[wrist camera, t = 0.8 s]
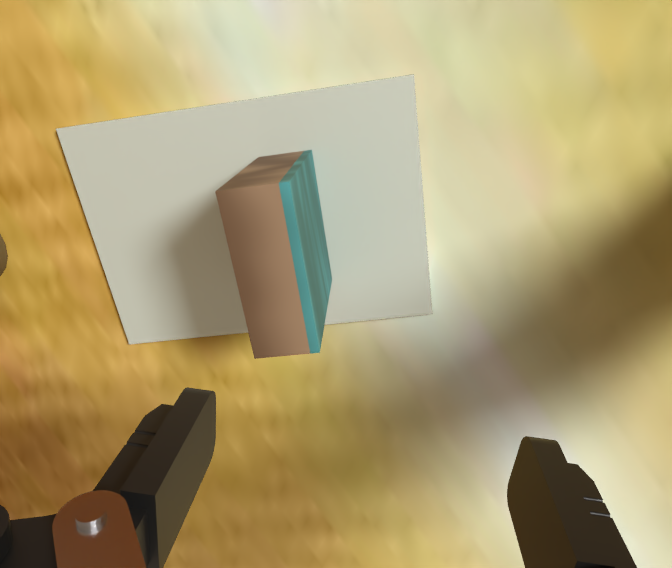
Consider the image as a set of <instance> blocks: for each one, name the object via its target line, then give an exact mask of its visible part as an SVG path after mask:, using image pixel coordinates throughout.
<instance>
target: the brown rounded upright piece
mask: <svg viewBox="0 0 672 568" xmlns="http://www.w3.org/2000/svg"><path fill="white" fill-rule="evenodd" d="M7 257H8V255H7V250H6V245H5V242H4V240H3V239H2V237H1V235H0V276H1V275H2V273H3V271H4V270H5V268H6V264H7Z"/></svg>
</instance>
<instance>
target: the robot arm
mask: <svg viewBox="0 0 672 568" xmlns="http://www.w3.org/2000/svg"><path fill="white" fill-rule="evenodd" d="M215 438H216V395H215V392H214V391H208V390H201V389H194V388H185V389H184V390H183V392H182V393H181V395H180V396H179V398H178V400H177V401H176V403H175V404H174V406H172V405H165V404H161V405H160V406H158V407H157V408H156V409H154V410H153V411H151V412H150V413H148V414H147V415H145V417H144V418H143V420H142V421H141V423H140V424H139V425H138V427H137V428H136V430H135V433H133V434H132V435H131V437H130V438H129V440H128V441H127V444H126V445H125V446H124V447H123V448H122V450H121V451H120V453H119V454H118V456H117V457H116V458H115V460H114V461H113V463H112V464H111V466H110V467H109V469H108V470H107V471H106V473H105V474H104V476H103V477H102V479H101V480H100V481H99V483H98V484H97V486H96V487H95V489H94V490H93V491H91V492H87V493H84V494H82V495H79V496H77V497H75V498H73V499H72V500H70V501H69V502H67V503H66V504H65V505H64V506H63V507H62V508H61V509H60V510H59V511H58V513H57V514H54V515H49V516H42V517H34V518H26V519H18V520H10V519H9V514H8V512H7V510H6V509H5V508H4V507H3V506H1V505H0V568H163V567H164V564H165V562H166V560H167V558H168V555H169V553H170V551H171V549H172V546H173V544H174V542H175V540H176V538H177V535H178V533H179V531H180V529H181V526H182V524H183V522H184V520H185V517H186V515H187V513H188V511H189V509H190V506H191V504H192V502H193V500H194V497H195V495H196V493H197V491H198V488H199V486H200V484H201V482H202V480H203V477H204V475H205V473H206V471H207V468H208V466H209V464H210V461H211V459H212V455H213V451H214V446H215ZM507 500H508V507H509V511H510V515H511V518H512V522H513V525H514V529H515V533H516V536H517V540H518V543H519V547H520V550H521V554H522V558H523V561H524V565H525V568H637V567H636V565H635V563H634V561H633V559H632V557H631V555H630V553H629V551H628V549H627V547H626V545H625V543H624V541H623V539H622V537H621V535H620V533H619V531H618V529H617V527H616V525H615V523H614V521H613V519H612V518H610V513H609V511H608V509H607V507H606V505H605V503H603V501H602V500H603V499H602V497H601V495H600V493H599V491H598V489H597V487H596V485H595V483H594V481H593V480H592V479H591V478H590V477H589V476H588V475H587V474H586V473H585V472H584V471H583V470H582V469H581V468H580V467H579V466H578V465H577V464H571V463H567V461H566V458H565V456H564V454H563V452H562V450H561V448H560V445H559V444H558V442H557V441H555V440H548V439H541V438H534V437H527V436H526V437H524V438H523V439H522V441H521V444H520V447H519V450H518V453H517V457H516V460H515V463H514V466H513V469H512V472H511V476H510V479H509V482H508V489H507Z"/></svg>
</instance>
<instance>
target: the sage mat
mask: <svg viewBox="0 0 672 568" xmlns="http://www.w3.org/2000/svg"><path fill="white" fill-rule="evenodd" d="M56 131H57V134H58V137H59V140H60V143H61V146H62V149H63V152H64V155H65V157H66V160H67V163H68V166H69V169H70V172H71V175H72V178H73V181H74V184H75V187H76V190H77V193H78V196H79V198H80V201H81V204H82V207H83V210H84V213H85V216H86V219H87V222H88V225H89V228H90V231H91V234H92V237H93V239H94V242H95V245H96V248H97V251H98V254H99V257H100V260H101V263H102V266H103V269H104V272H105V275H106V278H107V281H108V283H109V286H110V289H111V292H112V295H113V298H114V301H115V304H116V307H117V310H118V313H119V316H120V319H121V322H122V324H123V327H124V330H125V333H126V336H127V339H128V342H129V344H138V343H148V342H158V341H168V340H178V339H188V338H198V337H208V336H218V335H228V334H238V333H248V328H247V324H246V320H245V316H244V311H243V307H242V303H241V299H240V294H239V290H238V286H237V282H236V278H235V273H234V269H233V265H232V261H231V256H230V252H229V248H228V244H227V239H226V235H225V231H224V227H223V222H222V218H221V214H220V210H219V205H218V201H217V197H216V193H215V191H216V190H218V189H219V188H220V187H221V186H223V185H224V184H225V183H226V182H228V181H229V180H230V179H231V178H233V177H234V176H235V175H237V174H238V173H239V172H240V171H242V170H243V169H244V168H245V167H247V166H248V165H249V164H250V163H252V162H253V161H254V160H255V159H257V158H258V157H262V156H270V155H277V154H284V153H291V152H298V151H306V150H312V154H313V160H314V166H315V173H316V179H317V185H318V192H319V198H320V205H321V211H322V217H323V224H324V230H325V236H326V243H327V249H328V256H329V262H330V268H331V275H332V284H331V290H330V295H329V301H328V307H327V313H326V319H325V324H324V325H328V324H338V323H348V322H358V321H368V320H378V319H388V318H398V317H408V316H418V315H428V314H432V303H431V290H430V277H429V264H428V251H427V238H426V225H425V212H424V199H423V186H422V173H421V160H420V147H419V134H418V121H417V108H416V96H415V83H414V74H413V75H406V76H400V77H393V78H387V79H380V80H373V81H367V82H360V83H354V84H347V85H341V86H334V87H327V88H321V89H314V90H308V91H301V92H294V93H288V94H281V95H275V96H268V97H262V98H255V99H248V100H242V101H235V102H229V103H222V104H215V105H209V106H202V107H196V108H189V109H183V110H176V111H169V112H163V113H156V114H150V115H143V116H137V117H130V118H123V119H117V120H110V121H104V122H97V123H90V124H84V125H77V126H71V127H64V128H58V129H56Z"/></svg>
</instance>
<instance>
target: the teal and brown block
mask: <svg viewBox="0 0 672 568" xmlns="http://www.w3.org/2000/svg"><path fill="white" fill-rule="evenodd" d="M215 193H216V197H217V201H218V205H219V210H220V214H221V218H222V222H223V227H224V231H225V235H226V239H227V244H228V248H229V252H230V256H231V261H232V265H233V269H234V273H235V278H236V282H237V286H238V290H239V294H240V299H241V303H242V307H243V311H244V316H245V320H246V324H247V328H248V333H249V337H250V341H251V345H252V350H253V354H254V358H255V359H256V358H266V357H277V356H288V355H298V354H309V353H319V352H320V348H321V342H322V336H323V330H324V324H325V319H326V313H327V307H328V301H329V295H330V290H331V284H332V275H331V268H330V262H329V256H328V249H327V243H326V236H325V230H324V224H323V217H322V211H321V205H320V198H319V192H318V185H317V179H316V173H315V166H314V160H313V154H312V150H306V151H298V152H291V153H284V154H277V155H270V156H262V157H258V158H257V159H255V160H254V161H253V162H252V163H250V164H249V165H248V166H247V167H245V168H244V169H243V170H242V171H240V172H239V173H238V174H237V175H235V176H234V177H233V178H231V179H230V180H229V181H228V182H226V183H225V184H224V185H223V186H221V187H220V188H219V189H218V190H216V191H215Z"/></svg>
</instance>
